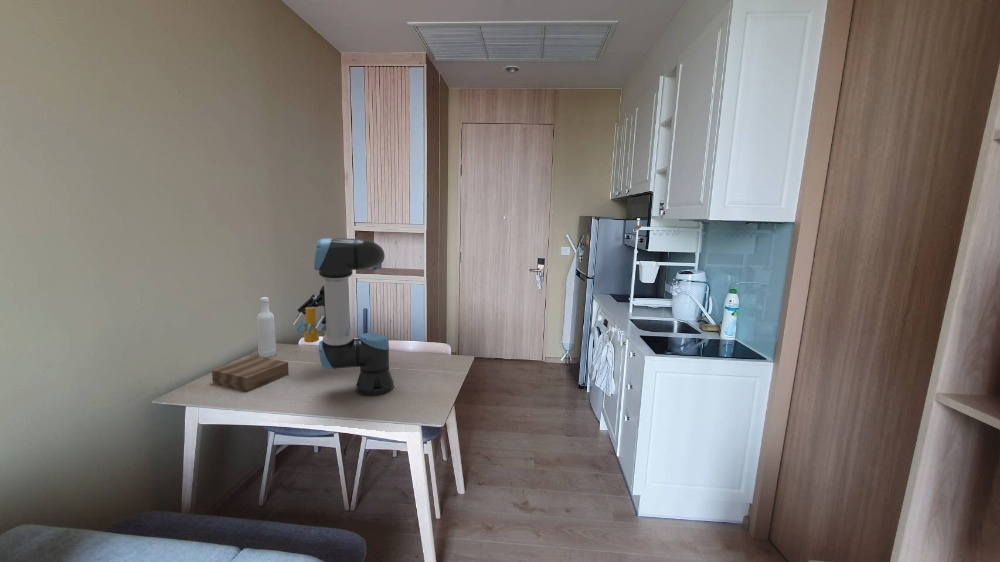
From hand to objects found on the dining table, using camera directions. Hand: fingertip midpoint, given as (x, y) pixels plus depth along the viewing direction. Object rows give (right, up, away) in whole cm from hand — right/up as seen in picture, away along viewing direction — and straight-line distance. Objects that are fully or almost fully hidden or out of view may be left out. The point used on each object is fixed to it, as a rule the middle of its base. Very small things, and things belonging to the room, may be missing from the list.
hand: (306, 328), depth 172 cm
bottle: (-35, -18, +30) cm, 49 cm away
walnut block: (-23, -22, -1) cm, 32 cm away
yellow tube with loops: (+1, -6, +3) cm, 7 cm away
